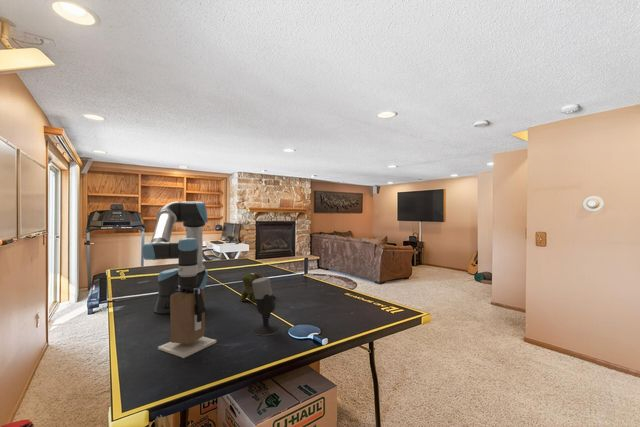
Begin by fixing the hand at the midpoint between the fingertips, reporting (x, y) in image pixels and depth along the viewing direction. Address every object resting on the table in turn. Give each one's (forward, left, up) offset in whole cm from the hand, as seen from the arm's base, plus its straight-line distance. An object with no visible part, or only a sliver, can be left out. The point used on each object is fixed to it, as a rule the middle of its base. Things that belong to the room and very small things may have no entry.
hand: (188, 326), depth 125 cm
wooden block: (0, 0, -5) cm, 5 cm away
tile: (0, 0, -8) cm, 8 cm away
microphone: (+18, +29, -8) cm, 35 cm away
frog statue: (-24, +67, -8) cm, 72 cm away
